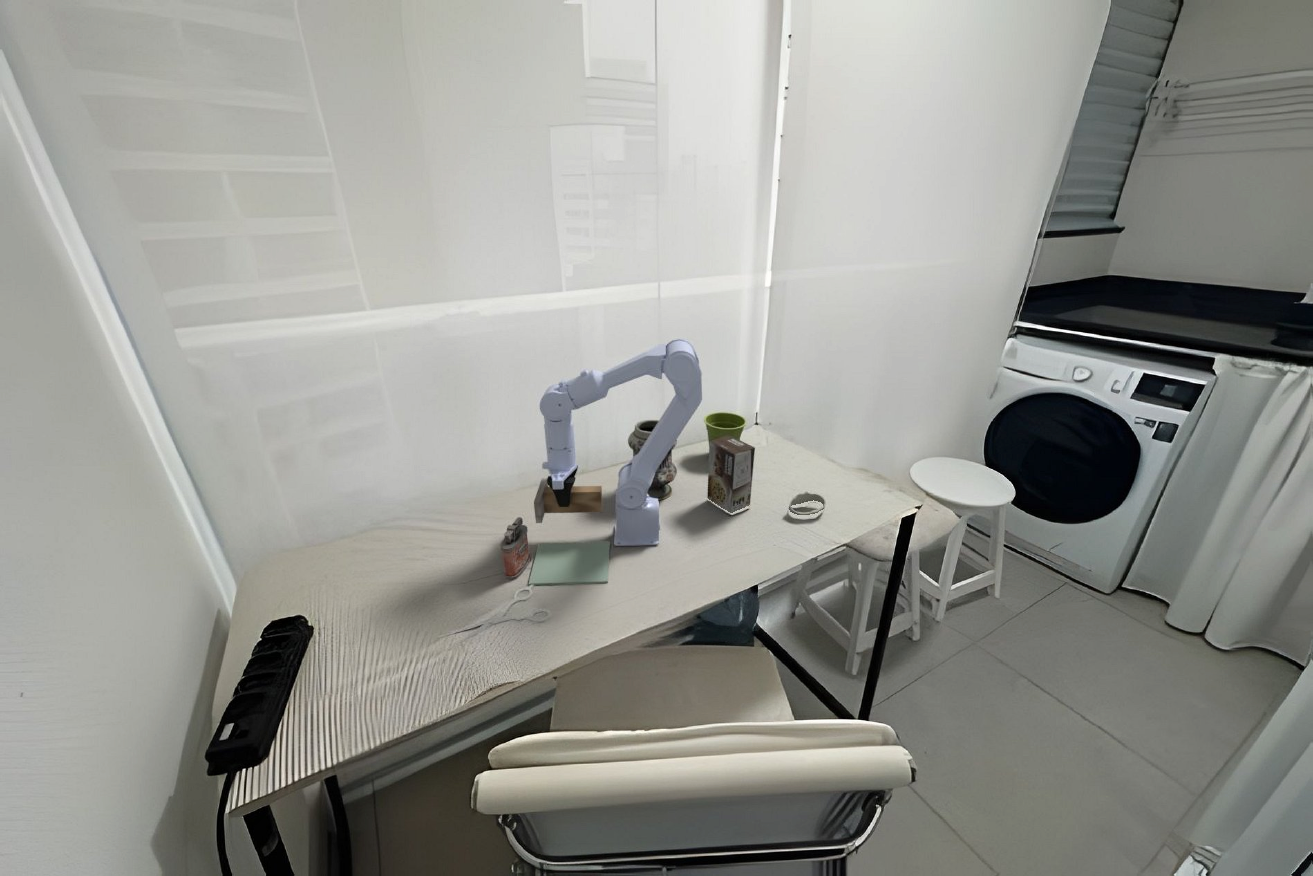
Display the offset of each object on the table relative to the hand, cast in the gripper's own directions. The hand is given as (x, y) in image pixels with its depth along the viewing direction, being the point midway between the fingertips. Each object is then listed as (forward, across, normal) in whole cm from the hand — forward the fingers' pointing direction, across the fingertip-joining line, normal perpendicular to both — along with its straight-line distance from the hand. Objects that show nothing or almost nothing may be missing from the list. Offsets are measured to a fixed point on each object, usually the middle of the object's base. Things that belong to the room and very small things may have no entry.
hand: (565, 502), depth 113 cm
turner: (+2, 0, +1) cm, 2 cm away
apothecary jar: (+9, -19, +19) cm, 28 cm away
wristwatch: (+9, -7, +55) cm, 56 cm away
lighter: (+9, +11, -9) cm, 16 cm away
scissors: (+9, +25, -10) cm, 29 cm away
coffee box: (+9, -12, +37) cm, 40 cm away
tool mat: (+8, +10, +2) cm, 13 cm away
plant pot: (+9, -38, +40) cm, 56 cm away
